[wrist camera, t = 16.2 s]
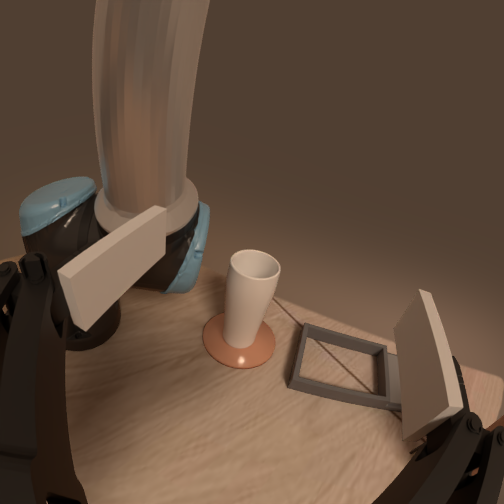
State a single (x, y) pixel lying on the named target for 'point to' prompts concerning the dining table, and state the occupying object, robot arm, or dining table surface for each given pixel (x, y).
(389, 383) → the open case
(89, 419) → the dining table surface
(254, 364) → the coaster
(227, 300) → the drinking glass
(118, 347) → the dining table surface
